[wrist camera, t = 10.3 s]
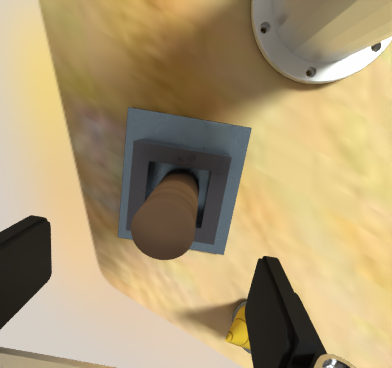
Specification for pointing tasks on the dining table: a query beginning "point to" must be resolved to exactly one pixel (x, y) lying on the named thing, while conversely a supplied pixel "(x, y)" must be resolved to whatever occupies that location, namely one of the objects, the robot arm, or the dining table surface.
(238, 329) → the yellow grooved cone part
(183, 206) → the walnut rod
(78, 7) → the dining table surface
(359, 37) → the robot arm
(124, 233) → the grey square peg hole
